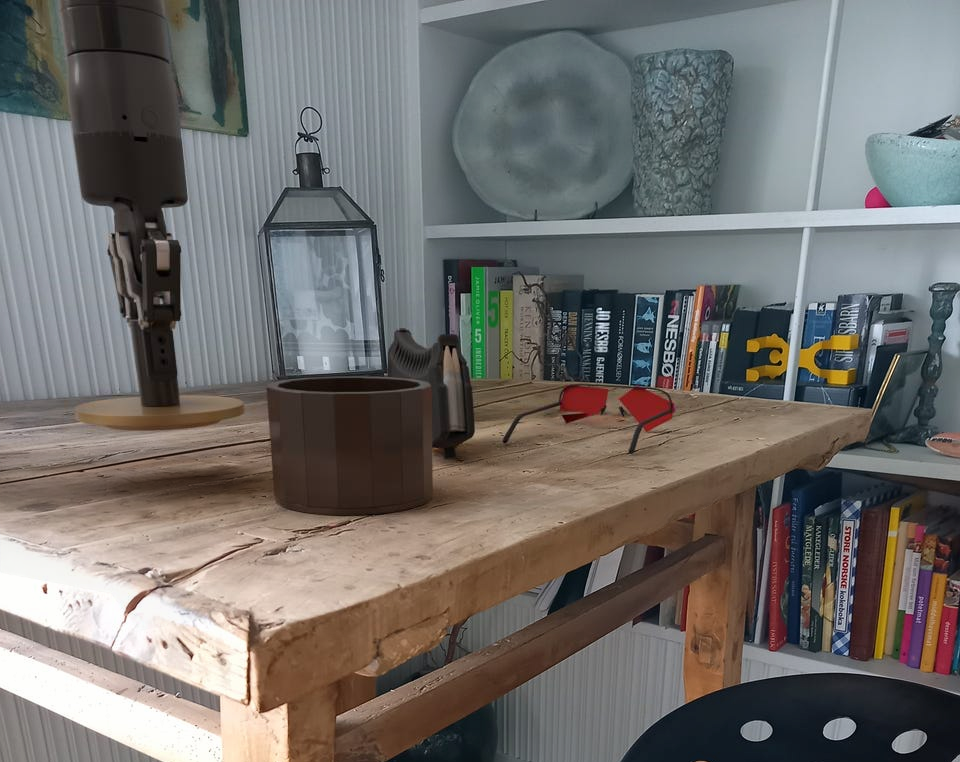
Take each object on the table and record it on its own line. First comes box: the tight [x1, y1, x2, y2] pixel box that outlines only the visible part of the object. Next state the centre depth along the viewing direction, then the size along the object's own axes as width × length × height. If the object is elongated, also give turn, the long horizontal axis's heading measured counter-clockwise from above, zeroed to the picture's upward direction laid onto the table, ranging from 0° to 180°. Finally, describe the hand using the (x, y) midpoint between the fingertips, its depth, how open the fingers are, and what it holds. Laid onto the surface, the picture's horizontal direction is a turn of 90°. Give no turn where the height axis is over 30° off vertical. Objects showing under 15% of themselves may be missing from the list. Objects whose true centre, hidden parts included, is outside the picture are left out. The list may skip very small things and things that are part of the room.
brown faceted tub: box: [266, 375, 434, 516], centre depth 71 cm, size 12×12×8 cm
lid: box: [73, 319, 245, 432], centre depth 74 cm, size 13×13×8 cm
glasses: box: [501, 383, 677, 455], centre depth 99 cm, size 14×16×5 cm
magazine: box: [386, 327, 476, 459], centre depth 97 cm, size 17×3×30 cm
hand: (157, 377), depth 74 cm, fingers closed on lid, 3 cm apart
